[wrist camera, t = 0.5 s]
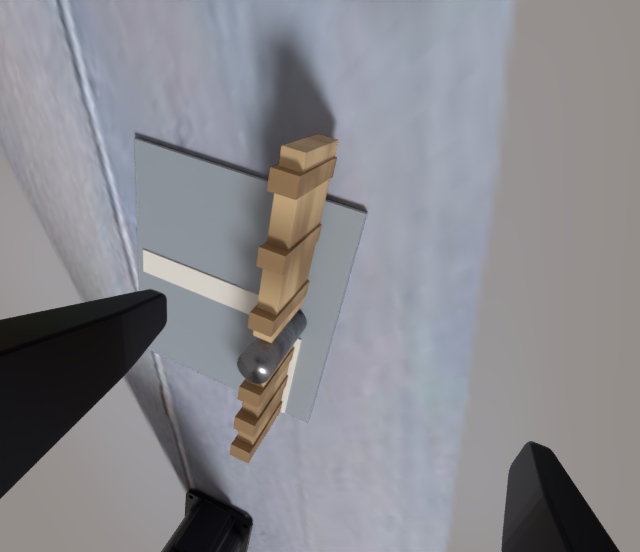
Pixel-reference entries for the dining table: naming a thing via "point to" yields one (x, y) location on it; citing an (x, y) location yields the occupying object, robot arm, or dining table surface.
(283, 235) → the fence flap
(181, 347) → the card
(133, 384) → the dining table surface
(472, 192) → the dining table surface
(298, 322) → the hinge post
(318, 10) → the dining table surface
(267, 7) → the dining table surface
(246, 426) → the fence fixed
